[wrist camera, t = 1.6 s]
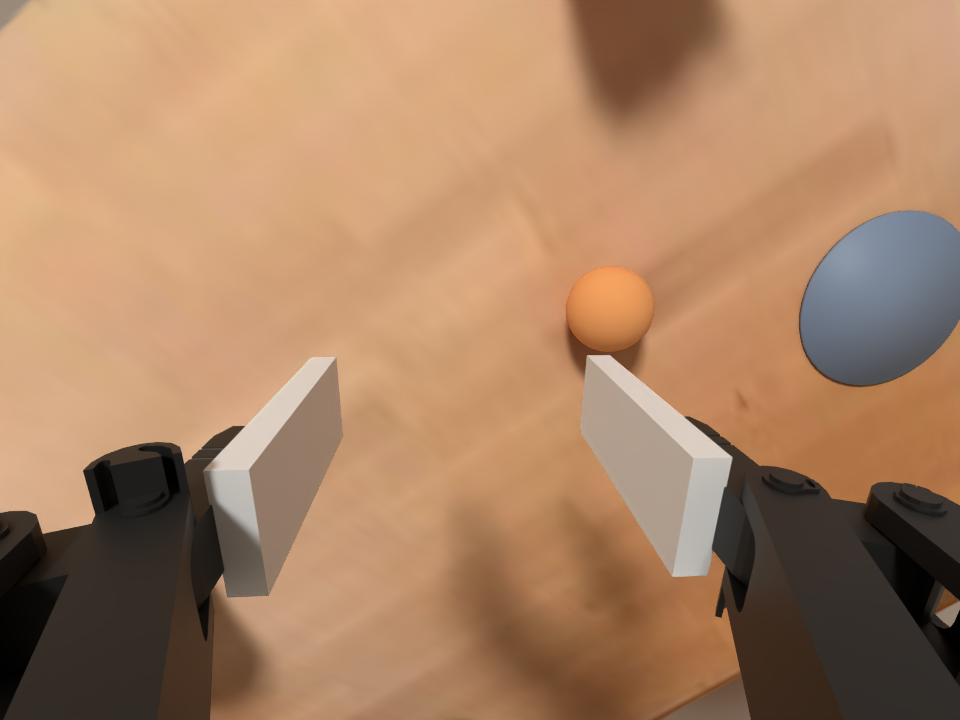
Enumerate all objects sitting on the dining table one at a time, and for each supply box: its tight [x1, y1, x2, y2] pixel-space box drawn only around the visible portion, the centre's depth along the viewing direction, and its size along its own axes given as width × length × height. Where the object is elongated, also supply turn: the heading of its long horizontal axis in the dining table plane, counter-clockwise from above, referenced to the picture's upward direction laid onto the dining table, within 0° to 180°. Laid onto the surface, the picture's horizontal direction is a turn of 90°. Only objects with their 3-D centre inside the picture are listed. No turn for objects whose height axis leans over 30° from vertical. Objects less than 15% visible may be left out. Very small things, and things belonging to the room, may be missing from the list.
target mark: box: [799, 211, 960, 385], centre depth 33 cm, size 13×13×1 cm
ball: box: [566, 266, 654, 352], centre depth 29 cm, size 6×6×6 cm
